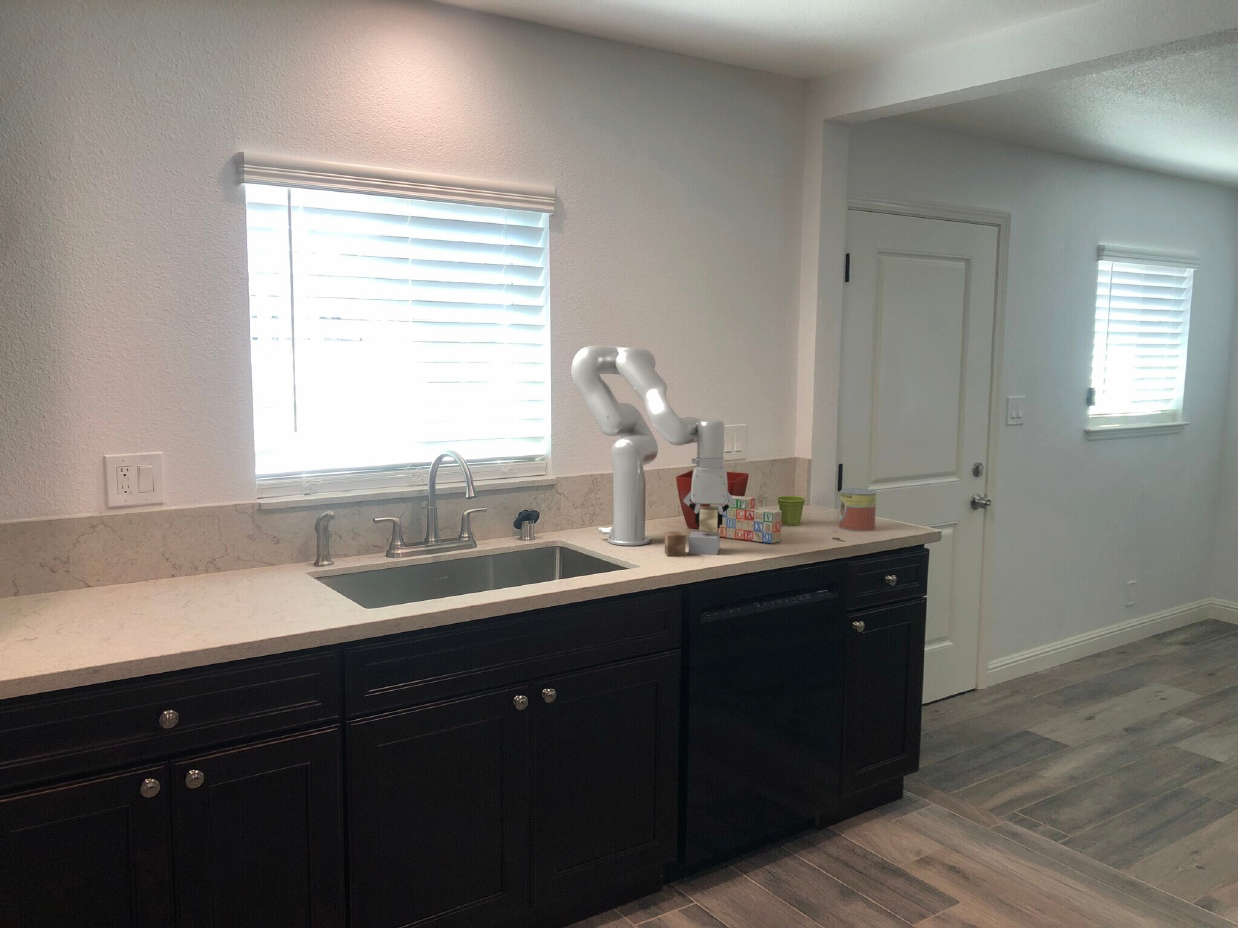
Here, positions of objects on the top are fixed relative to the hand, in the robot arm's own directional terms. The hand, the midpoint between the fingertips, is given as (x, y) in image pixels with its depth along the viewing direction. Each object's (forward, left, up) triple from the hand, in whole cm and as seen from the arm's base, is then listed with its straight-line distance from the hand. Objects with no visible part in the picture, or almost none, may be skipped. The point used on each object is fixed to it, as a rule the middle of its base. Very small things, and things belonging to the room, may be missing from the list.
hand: (708, 526), depth 266 cm
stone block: (-1, 0, -7) cm, 7 cm away
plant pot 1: (-1, +36, -7) cm, 37 cm away
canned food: (+45, +43, -7) cm, 63 cm away
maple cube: (0, 0, -1) cm, 1 cm away
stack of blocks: (+10, +19, -7) cm, 23 cm away
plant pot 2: (+24, +45, -7) cm, 52 cm away
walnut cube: (-9, -6, -7) cm, 13 cm away
